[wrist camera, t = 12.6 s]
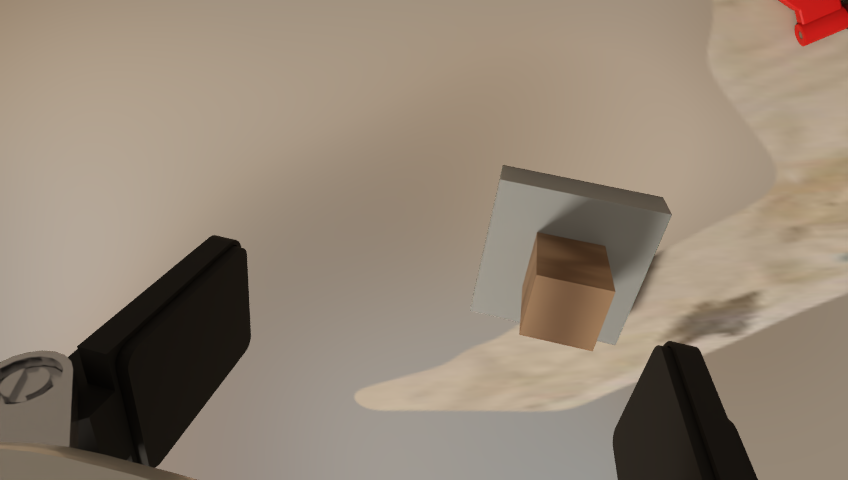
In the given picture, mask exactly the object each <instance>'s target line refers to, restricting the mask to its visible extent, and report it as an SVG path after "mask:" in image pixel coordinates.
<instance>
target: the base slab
mask: <svg viewBox="0 0 848 480" xmlns="http://www.w3.org/2000/svg"><path fill="white" fill-rule="evenodd" d="M671 215H672V214H671V212H670V210H669V208H668V206H667V204H666V203H665V201H664V199H663V197H658V196H654V195H649V194H644V193H639V192H633V191H629V190H624V189H619V188H614V187H609V186H604V185H599V184H594V183H589V182H584V181H580V180H574V179H570V178H565V177H560V176H555V175H550V174H545V173H539V172H535V171H530V170H525V169H520V168H515V167H510V166H505V165H503V167H502V172H501V176H500V181H499V185H498V189H497V193H496V198H495V202H494V206H493V211H492V215H491V220H490V224H489V228H488V232H487V237H486V241H485V246H484V250H483V254H482V259H481V263H480V268H479V272H478V277H477V281H476V285H475V290H474V294H473V299H472V304H471V309H470V311H472V312H477V313H481V314H485V315H489V316H493V317H498V318H502V319H507V320H510V321H515V322H519V323H520V317H521V300H522V286H523V282H524V279H525V275H526V271H527V267H528V264H529V260H530V256H531V253H532V249H533V245H534V242H535V238H536V234H537V232H539V233H544V234H549V235H554V236H559V237H564V238H569V239H574V240H579V241H583V242H588V243H593V244H598V245H603V246H605V247H606V251H607V256H608V260H609V265H610V269H611V274H612V278H613V282H614V287H615V291H616V292H615V295H614V297H613V300H612V302H611V305H610V308H609V310H608V313H607V315H606V318H605V321H604V323H603V326H602V328H601V331H600V334H599V336H598V339H597V341H599V342H604V343H608V344H612V345H616V343H617V340H618V338H619V336H620V333H621V331H622V329H623V326H624V324H625V322H626V319H627V317H628V315H629V313H630V310H631V308H632V306H633V303H634V301H635V299H636V296H637V294H638V292H639V289H640V287H641V285H642V282H643V280H644V278H645V276H646V273H647V271H648V269H649V266H650V264H651V262H652V259H653V257H654V255H655V252H656V250H657V248H658V246H659V243H660V241H661V239H662V236H663V234H664V231H665V229H666V227H667V225H668V222H669V220H670V217H671Z"/></svg>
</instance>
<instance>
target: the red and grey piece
mask: <svg viewBox="0 0 848 480" xmlns="http://www.w3.org/2000/svg"><path fill="white" fill-rule="evenodd" d="M778 1H780V2H781V3H783V4H784V5H786V6H787V7H789V8H790V9H792V10H795V14H796V18H797V22H798V24H796V25H795V35H796V38H797V40H798V42H799V43H800V45H801V46H805V45H808V44H810V43H813V42H815V41H817V40H820V39H822V38H825V37H827V36H829V35H832V34H834V33H837V32H839V31H841V30H844V29H848V0H846V1H844V2H841V0H778Z"/></svg>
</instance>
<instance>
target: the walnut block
mask: <svg viewBox="0 0 848 480" xmlns="http://www.w3.org/2000/svg"><path fill="white" fill-rule="evenodd" d="M615 292H616V291H615V287H614V282H613V278H612V274H611V269H610V265H609V260H608V256H607V251H606V247H605V246H603V245H598V244H593V243H588V242H583V241H579V240H574V239H569V238H564V237H559V236H554V235H549V234H544V233H539V232H537V234H536V238H535V242H534V245H533V249H532V253H531V256H530V260H529V264H528V267H527V271H526V275H525V279H524V282H523V286H522V300H521V317H520V334H519V335H523V336H528V337H532V338H537V339H541V340H545V341H550V342H554V343H559V344H563V345H567V346H572V347H576V348H581V349H585V350H589V351H593V349H594V346H595V344H596V341H597V339H598V336H599V334H600V331H601V328H602V326H603V323H604V321H605V318H606V315H607V313H608V310H609V308H610V305H611V302H612V300H613V297H614V295H615Z"/></svg>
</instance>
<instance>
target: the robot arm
mask: <svg viewBox="0 0 848 480" xmlns="http://www.w3.org/2000/svg"><path fill="white" fill-rule="evenodd" d="M250 332H251V331H250V311H249V291H248V269H247V253H246V250H245V249H244V248H241V245H240V243H239V242H238V241H237V240H233V239H229V238H224V237H220V236H215V235H214V236H211V237H209V238H208V239H207V240H206V241H205V242H203V243H202V244H201V245H200V246H198V247H197V248H196V249H195V250H193V251H192V252H191V253H190V254H189V255H187V256H186V257H185V258H184V259H183V260H182V261H180V262H179V263H178V264H177V265H175V266H174V267H173V268H172V269H170V270H169V271H168V272H167V273H166V274H165V275H163V276H162V277H161V278H160V279H159V280H157V281H156V282H155V283H154V284H152V285H151V286H150V287H149V288H147V289H146V290H145V291H144V292H143V293H141V294H140V295H139V296H138V297H137V298H135V299H134V300H133V301H132V302H130V303H129V304H128V305H127V306H126V307H124V308H123V309H122V310H121V311H120V312H118V313H117V314H116V315H115V316H114V317H112V318H111V319H110V320H109V321H107V322H106V323H105V324H104V325H103V326H101V327H100V328H99V329H98V330H96V331H95V332H94V333H93V334H92V335H90V336H89V337H88V338H87V339H86V340H84V341H83V342H82V343H81V344H80V345H78V346H77V347H78V349H77V350H76V351H75V352H74V353H72V354H71V355H70V356H69V357H68V358H67V357H66V356H65V355H63V354H60V353H58V352H53V351H36V352H28V353H24V354H20V355H17V356H13V357H11V358H9V359H6V360H4V361H2V362H0V480H197V479H193V478H190V477H186V476H183V475H179V474H176V473H172V472H168V471H164V470H161V469H157V468H155V467H156V466H158V465H159V464H160V463H161V462H162V460H163V459H164V457H165V456H166V455H167V454H168V452H169V451H170V450H171V449H172V447H173V446H174V445H175V443H176V442H177V441H178V439H179V438H180V437H181V435H182V434H183V433H184V431H185V430H186V429H187V428H188V426H189V425H190V424H191V422H192V421H193V420H194V418H195V417H196V416H197V414H198V413H199V412H200V411H201V409H202V408H203V407H204V405H205V404H206V402H207V401H208V400H209V399H210V397H211V396H212V395H213V393H214V392H215V391H216V389H217V388H218V387H219V386H220V384H221V383H222V382H223V380H224V379H225V377H226V376H227V375H228V374H229V372H230V371H231V370H232V369H233V367H234V366H235V365H236V363H237V362H238V361H239V359H240V358H241V357H242V355H243V354H244V353H245V351H246V350H247V348H248V346H249V343H250V339H251V333H250ZM613 450H614V456H615V463H616V470H617V477H618V480H758V479H757V477H756V474H755V472H754V470H753V467H752V465H751V462H750V460H749V457H748V455H747V453H746V450H745V448H744V446H743V443H742V441H741V438H740V436H739V434H738V431H737V429H736V428H735V426H734V424H733V423H732V422H731V421H730V420H729V419H728V418H727V415H726V413H725V410H724V408H723V405H722V403H721V400H720V398H719V396H718V393H717V391H716V388H715V386H714V383H713V381H712V378H711V376H710V374H709V371H708V369H707V366H706V364H705V362H704V359H703V356H702V354H701V352H700V350H699V349H698V348H697V347H694V346H689V345H685V344H681V343H676V342H672V341H668V342H666V343H665V344H664V346H659V345H658V346H656V347H655V348H654V350H653V352H652V354H651V356H650V358H649V360H648V362H647V364H646V366H645V368H644V370H643V372H642V374H641V376H640V378H639V381H638V383H637V385H636V387H635V389H634V391H633V393H632V395H631V397H630V399H629V401H628V403H627V405H626V407H625V409H624V411H623V413H622V416H621V418H620V420H619V422H618V424H617V426H616V428H615V431H614V435H613Z"/></svg>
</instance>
